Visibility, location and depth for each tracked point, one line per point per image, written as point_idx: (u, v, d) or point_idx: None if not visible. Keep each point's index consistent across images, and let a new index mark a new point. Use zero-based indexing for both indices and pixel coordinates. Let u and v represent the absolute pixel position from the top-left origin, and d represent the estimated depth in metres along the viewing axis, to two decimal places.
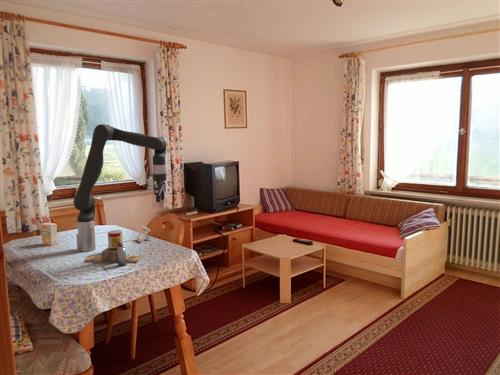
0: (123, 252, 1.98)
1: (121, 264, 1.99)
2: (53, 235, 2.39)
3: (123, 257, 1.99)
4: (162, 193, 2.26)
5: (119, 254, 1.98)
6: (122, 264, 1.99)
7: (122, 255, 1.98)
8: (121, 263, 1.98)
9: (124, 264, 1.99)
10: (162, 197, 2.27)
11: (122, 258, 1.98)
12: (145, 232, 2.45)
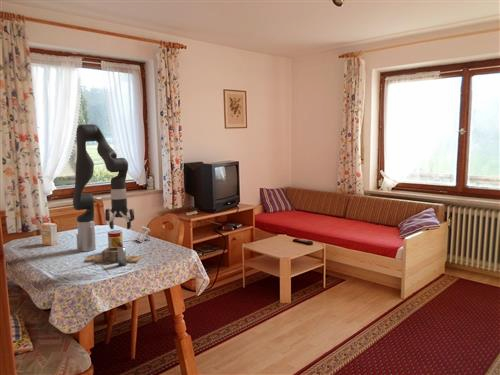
0: (123, 252, 1.98)
1: (121, 264, 1.99)
2: (53, 235, 2.39)
3: (123, 257, 1.99)
4: (112, 221, 1.98)
5: (119, 254, 1.98)
6: (122, 264, 1.99)
7: (122, 255, 1.98)
8: (121, 263, 1.98)
9: (124, 264, 1.99)
10: (112, 226, 1.98)
11: (122, 258, 1.98)
12: (145, 232, 2.45)
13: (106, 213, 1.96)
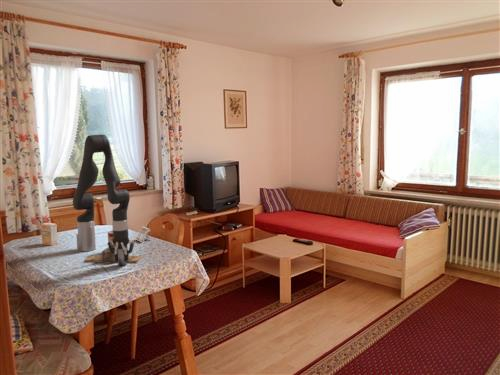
0: (123, 252, 1.98)
1: (121, 264, 1.99)
2: (53, 235, 2.39)
3: (123, 257, 1.99)
4: None
5: (119, 254, 1.98)
6: (122, 264, 1.99)
7: (122, 255, 1.98)
8: (121, 263, 1.98)
9: (124, 264, 1.99)
10: None
11: (122, 257, 1.98)
12: (145, 232, 2.45)
13: (109, 246, 1.98)
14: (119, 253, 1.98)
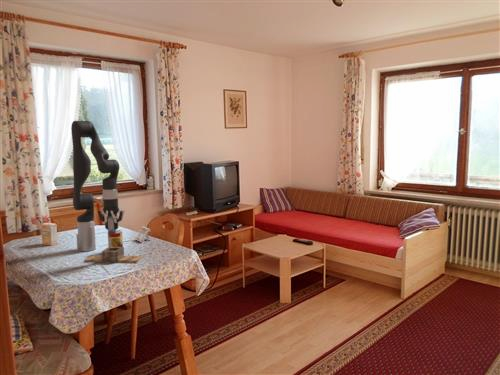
0: (113, 220, 2.05)
1: (111, 232, 2.05)
2: (53, 235, 2.39)
3: (113, 225, 2.05)
4: None
5: (109, 222, 2.05)
6: (112, 232, 2.05)
7: (112, 223, 2.05)
8: (111, 231, 2.05)
9: (114, 232, 2.06)
10: None
11: (112, 226, 2.05)
12: (145, 232, 2.45)
13: (99, 214, 2.05)
14: (109, 221, 2.04)
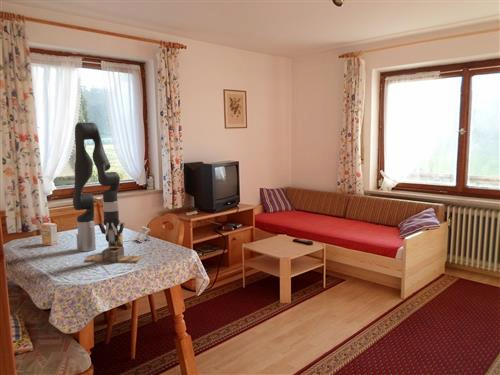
0: (113, 232, 2.06)
1: (111, 244, 2.06)
2: (53, 235, 2.39)
3: (113, 237, 2.06)
4: None
5: (109, 234, 2.05)
6: (112, 244, 2.06)
7: (112, 235, 2.06)
8: (112, 243, 2.06)
9: (114, 244, 2.07)
10: None
11: (112, 238, 2.06)
12: (145, 232, 2.45)
13: (100, 227, 2.06)
14: (109, 233, 2.05)
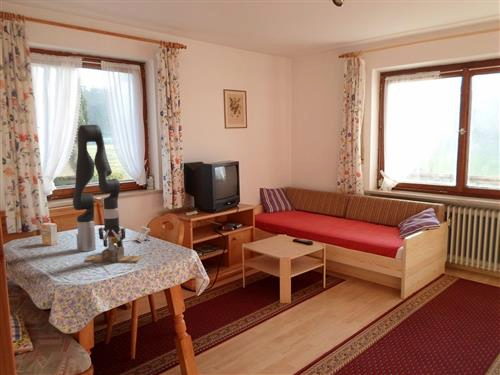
0: (114, 247, 2.07)
1: None
2: (53, 235, 2.39)
3: None
4: (106, 239, 2.08)
5: (110, 249, 2.06)
6: None
7: (113, 250, 2.07)
8: None
9: None
10: (106, 244, 2.08)
11: None
12: (145, 232, 2.45)
13: (99, 232, 2.06)
14: (111, 248, 2.06)
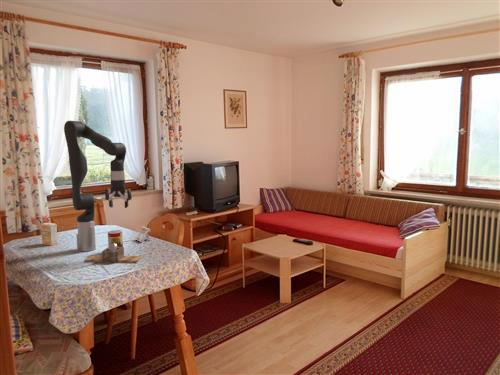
0: (114, 247, 2.07)
1: None
2: (53, 235, 2.39)
3: None
4: (111, 200, 2.18)
5: (111, 249, 2.06)
6: None
7: (113, 250, 2.07)
8: None
9: None
10: (111, 204, 2.18)
11: None
12: (145, 232, 2.45)
13: (106, 193, 2.16)
14: (111, 248, 2.06)
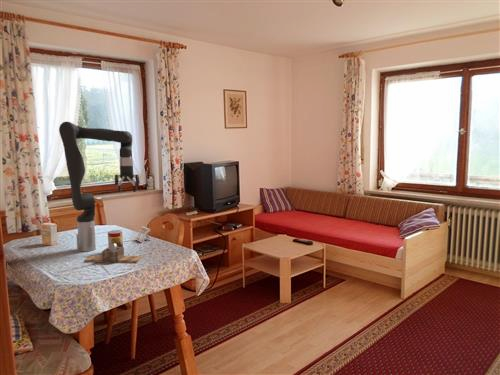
0: (114, 247, 2.07)
1: None
2: (53, 235, 2.39)
3: None
4: (120, 185, 2.34)
5: (110, 249, 2.06)
6: None
7: (113, 250, 2.07)
8: None
9: None
10: (121, 189, 2.34)
11: None
12: (145, 232, 2.45)
13: (115, 178, 2.32)
14: (110, 248, 2.06)
